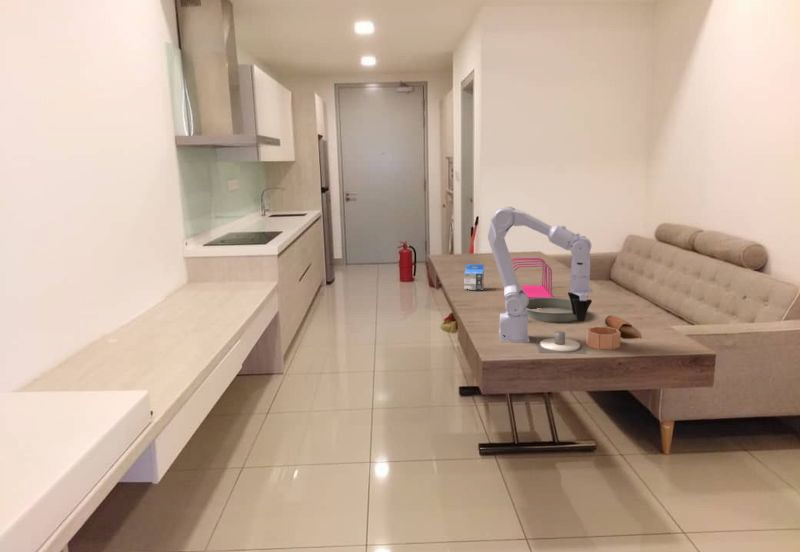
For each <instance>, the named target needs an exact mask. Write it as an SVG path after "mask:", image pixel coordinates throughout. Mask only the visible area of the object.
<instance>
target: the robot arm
mask: <svg viewBox="0 0 800 552" xmlns="http://www.w3.org/2000/svg"><path fill="white" fill-rule="evenodd" d="M519 226H520V227H522V226H525V227H527V228H529V229H531V230H533V231H535V232H537V233H541V234H543V235H545V236H547V238H548V242H549V243H552V244H553V245H556V246H557V247H560V248H561V249H564V250H566V251H570V253H571V261H570V282H569V283H570V286H569V292H567V295H568V297H569V299H570V300H571V305H572V311H573V315H576V318H577V320H576V321H577V322H585V320H586V316H587V313H588V309H589V307H590V306H591V304H592V299H588V295H589V294H590V293H593V292H594V289H592V288H590V282H591V281H590V279H591V277H590V275H591V260H590V259H591V253H590V252H591V249H592V243H591V241H590V239H589V238H587V237H586V236H584V235H581V234H580V233H579V232H576V233H575V232H573V231H571V230H568V229H566V228H567V226H566V225H555V226H554V225H553V226H551V224H550V225H549V224H548V223H546V222H544V221H542V220H540V219H538V218H536V217H535V216H533V215H532V214H530V213H527V212H526V211H523V210H520V209H518V208H517V209H516V208H515V207H513V206H506V207H503V208H499V209H498V210H496V211H495V213H494V214H493V215H492V217H491V219H490V226H489V229H488V232H487V233H488V234H487V238H488V240H487V241H488V242H489V245H490V249H491V252H492V255H493V258H494V261H495V264H496V267H497V270H498V274H499V277H500V280H501V283H502V285H503V295H504V296H503V297H504V300H505V301H504V309H505V312H504V313H499V329H498V335H499V341H500V340H505V341H514V343H515V342H516V343H530V342H531V341H530V336H529V318H528V311H527V310H526V307H527V305H528V303H529V298H528V296H527V294H526V293H525V292H524V291H523V289H522V286H523V285H521V284H520V282H519V280H518V279H519V278H518V277H517V273H516V270H515V268H514V264H512V263H513V262H512V261H511V259H512V258H511V255H510V251H509V248H508V245H507V242H506V239H505V237H506V236H507V234H508V232H509V230H510V229H511V228H512V227H519ZM503 336H504V337H503Z"/></svg>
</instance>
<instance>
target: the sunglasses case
mask: <svg viewBox="0 0 800 552" xmlns="http://www.w3.org/2000/svg"><path fill="white" fill-rule="evenodd" d="M604 324H605V325H606V326H607V327H611V328H615V329H618V330H619V331H620V332H621V336H620V338H622V339H642V337H641V335H640V334H639V332H638V331H637V330H636V329H635V328H634V327H633V325H632V324H631V323H630V322H628V321H627V320H624V319H623V318H621V317H618V316H615V315H608V316H606V317H605V319H604Z"/></svg>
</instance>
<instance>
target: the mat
mask: <svg viewBox="0 0 800 552" xmlns="http://www.w3.org/2000/svg"><path fill="white" fill-rule="evenodd" d="M534 339H535V338H534ZM542 340H545V338H544V339H541V338H536V339H535V343H536V347H537V351H538V353H539V354H574V355H575V354H576V355H578V354H579V355H581V354H585V355H587V352H586V349H585V348H584V346H583V344H582V342H581V341H580V339H573V340H574V341H576V342H578V343H579V344H580V348H579V349H578V350H576V351H572V352H554V351H549V350H546V349H543V348H542V347H541V346H540V342H541V341H542Z"/></svg>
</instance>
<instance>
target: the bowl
mask: <svg viewBox="0 0 800 552" xmlns="http://www.w3.org/2000/svg"><path fill="white" fill-rule="evenodd" d="M585 331H586V332H585V333H586V337H585V340H586V341H585V343H586V345H587V347H590V348H592V349H593V348H594V349H597V350H615V349H618V348H620V347H621V337H620V336H621V332H620V331H619V330H618V329H615V328H611V327H609V326H598V325H597V326H591V327H587V328H586V330H585Z"/></svg>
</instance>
